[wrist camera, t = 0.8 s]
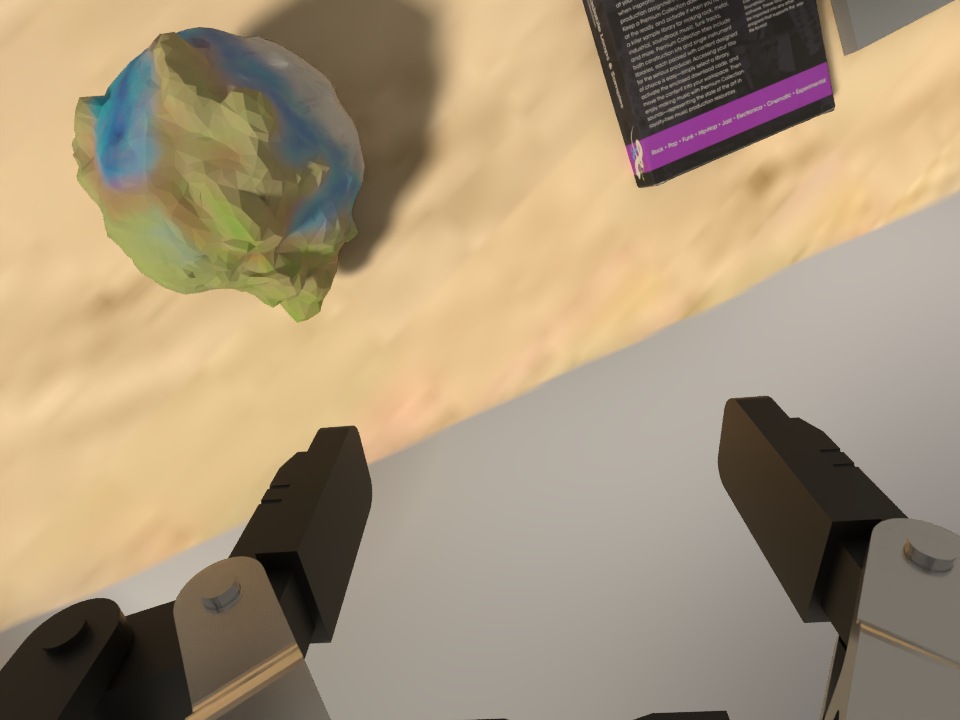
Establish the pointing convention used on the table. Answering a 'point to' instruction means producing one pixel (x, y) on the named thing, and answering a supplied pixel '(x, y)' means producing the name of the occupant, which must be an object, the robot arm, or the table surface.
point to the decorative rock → (224, 168)
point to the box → (707, 76)
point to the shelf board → (876, 19)
